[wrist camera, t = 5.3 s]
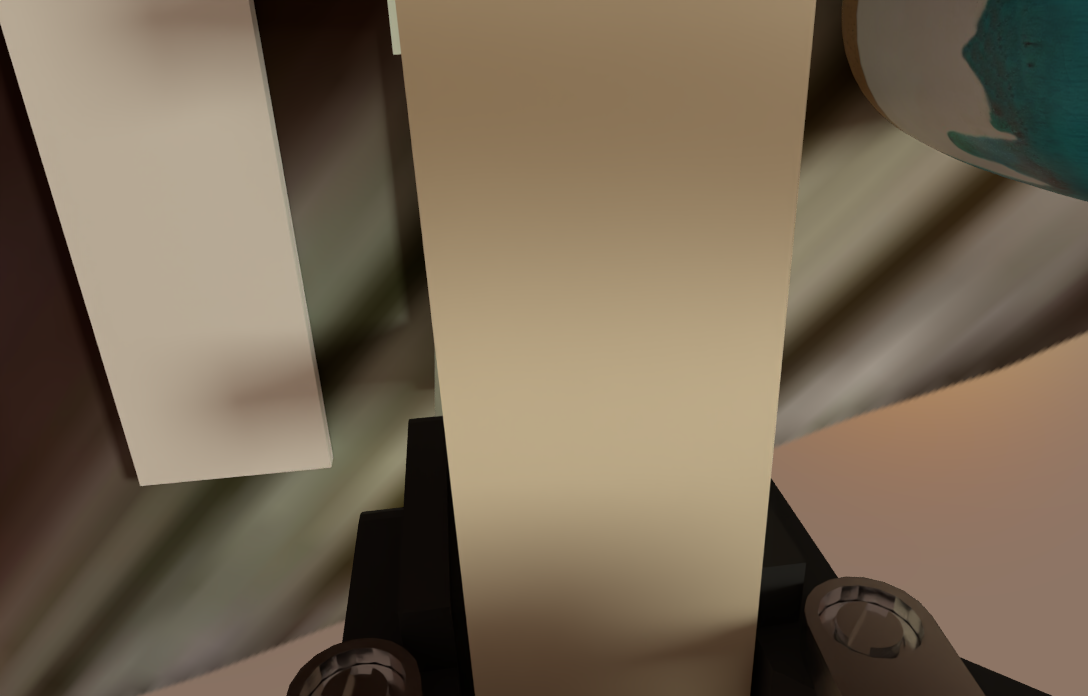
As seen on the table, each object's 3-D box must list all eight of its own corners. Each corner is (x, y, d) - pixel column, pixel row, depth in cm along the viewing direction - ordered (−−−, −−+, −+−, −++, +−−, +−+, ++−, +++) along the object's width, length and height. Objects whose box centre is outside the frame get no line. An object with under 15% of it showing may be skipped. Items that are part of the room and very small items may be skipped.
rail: (364, -418, 6) (313, -704, 4) (701, -418, 7) (882, -686, 4) (514, 970, 15) (531, 1188, 12) (658, 946, 15) (706, 1154, 13)
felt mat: (-48, -178, 24) (-63, -184, 23) (221, -183, 25) (215, -188, 24) (146, 475, 34) (140, 485, 34) (333, 457, 35) (331, 467, 34)
